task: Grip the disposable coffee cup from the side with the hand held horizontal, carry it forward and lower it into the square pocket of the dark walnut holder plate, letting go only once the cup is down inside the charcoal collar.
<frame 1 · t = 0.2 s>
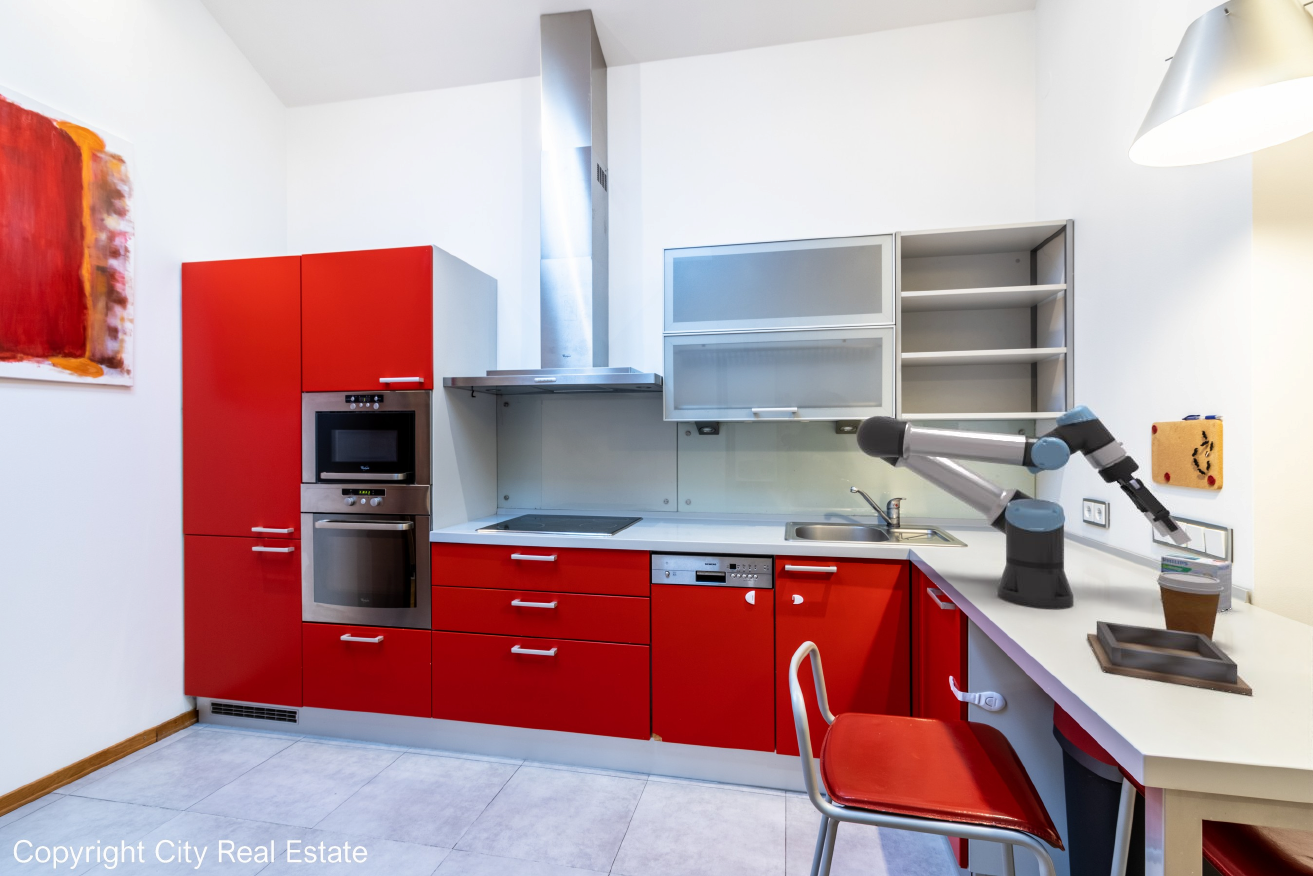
hand: (1176, 538, 135), 15 cm above the worktop, tool tilted 35°, fingers open, 13 cm apart
disposable coffee cup: (1189, 640, 111), on the worktop
light bulb box: (1195, 605, 133), on the worktop
cup holder plate: (1159, 663, 100), on the worktop
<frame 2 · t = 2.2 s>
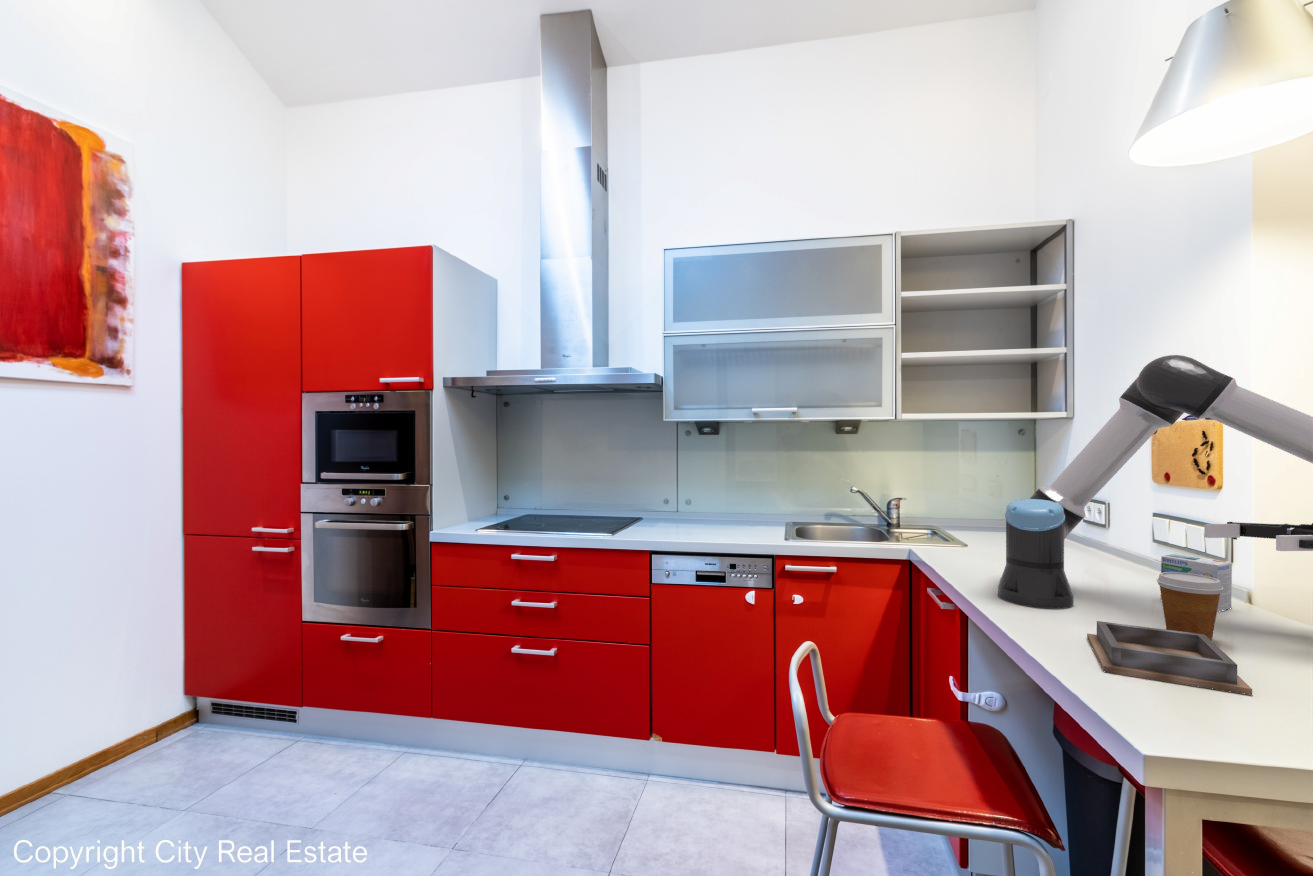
hand: (1239, 536, 111), 20 cm above the worktop, tool horizontal, fingers open, 13 cm apart
nothing on the worktop moved.
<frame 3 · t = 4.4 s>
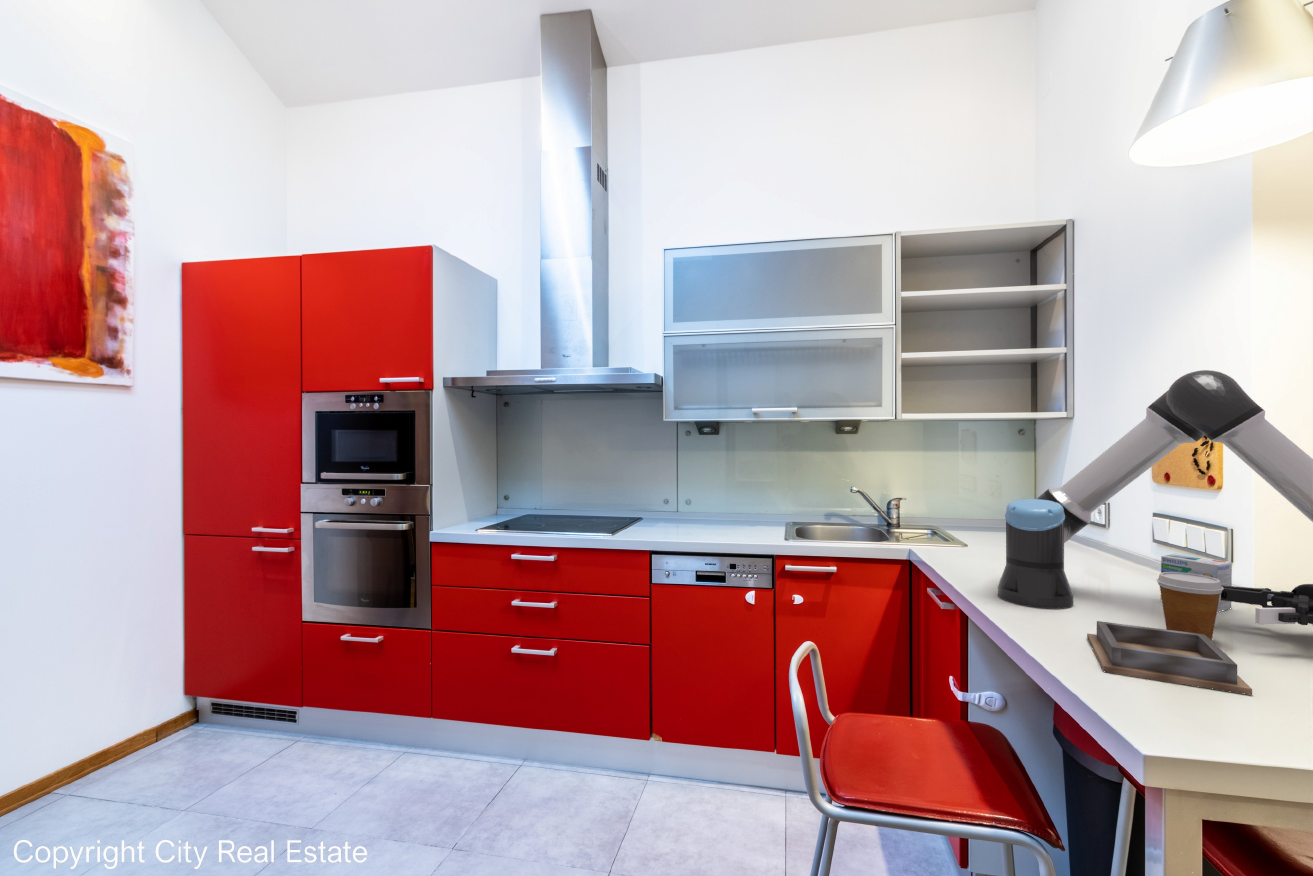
hand: (1219, 604, 111), 7 cm above the worktop, tool horizontal, fingers open, 13 cm apart
nothing on the worktop moved.
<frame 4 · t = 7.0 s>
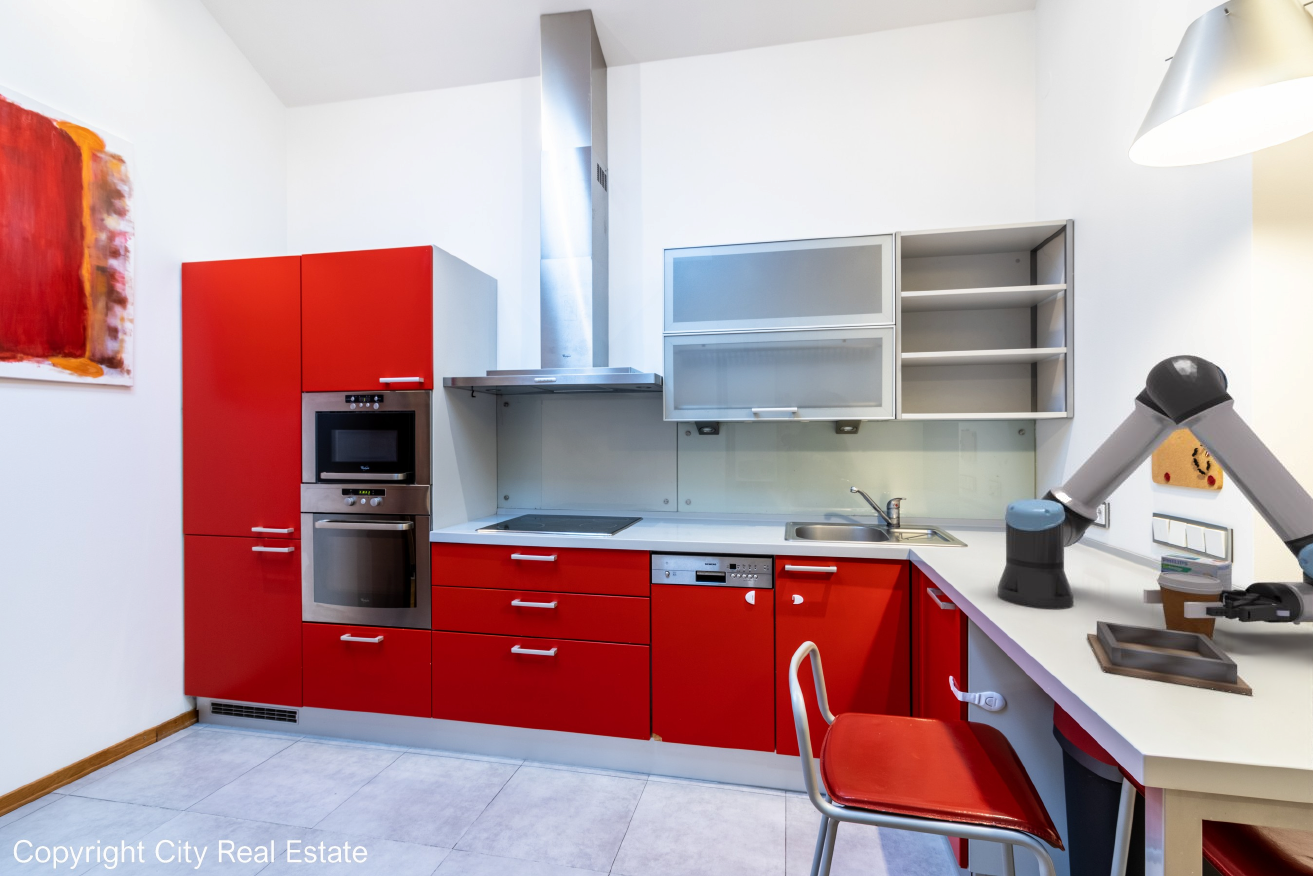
hand: (1164, 603, 111), 7 cm above the worktop, tool horizontal, fingers closed on disposable coffee cup, 8 cm apart
disposable coffee cup: (1189, 640, 111), on the worktop, touching gripper
everything else where it was.
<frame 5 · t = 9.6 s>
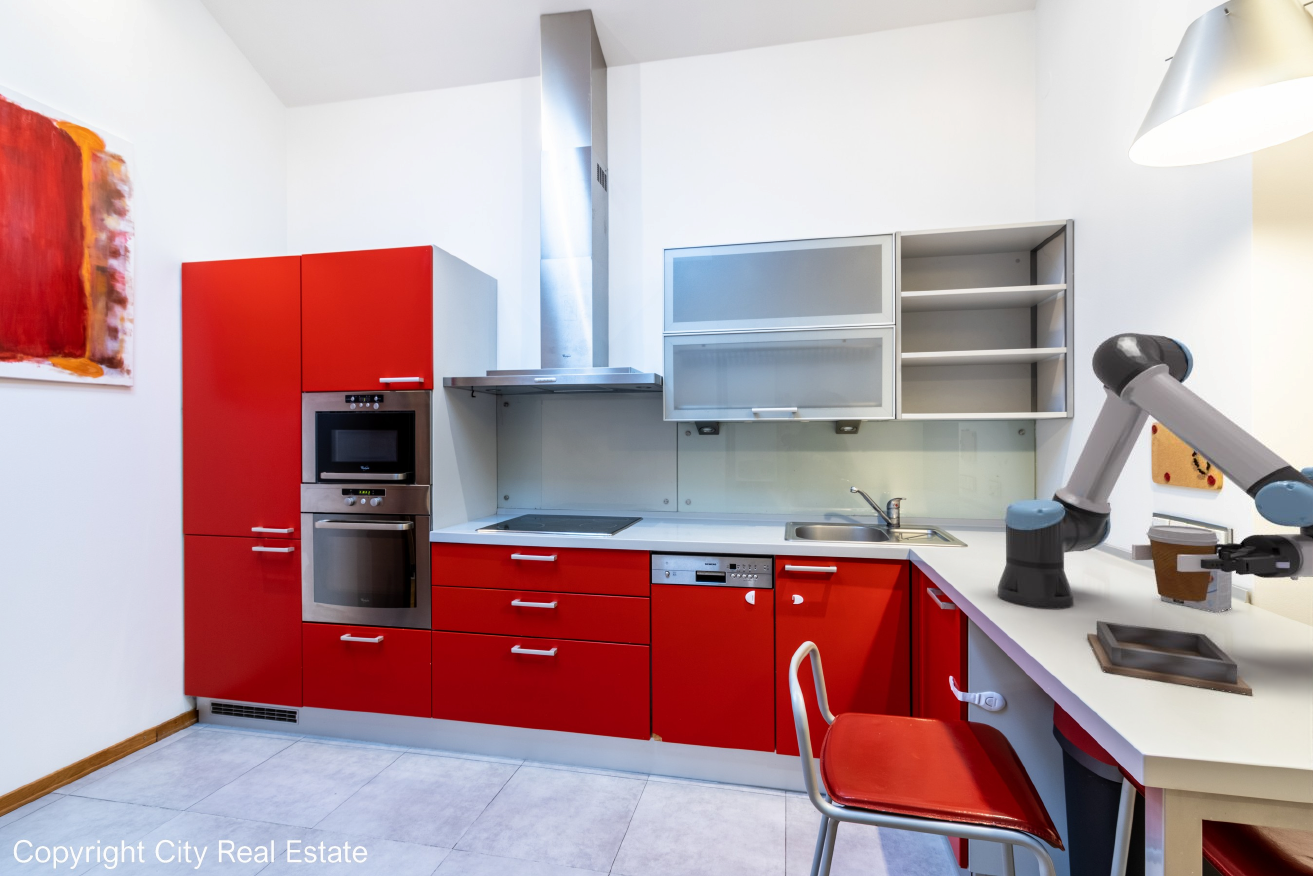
hand: (1155, 557, 102), 18 cm above the worktop, tool horizontal, fingers closed on disposable coffee cup, 8 cm apart
disposable coffee cup: (1181, 597, 102), point 11 cm above the worktop, touching gripper
everything else where it was.
when the fingers open (9 cm above the worktop, at t = 12.5 s): disposable coffee cup drops 1 cm, resting on cup holder plate.
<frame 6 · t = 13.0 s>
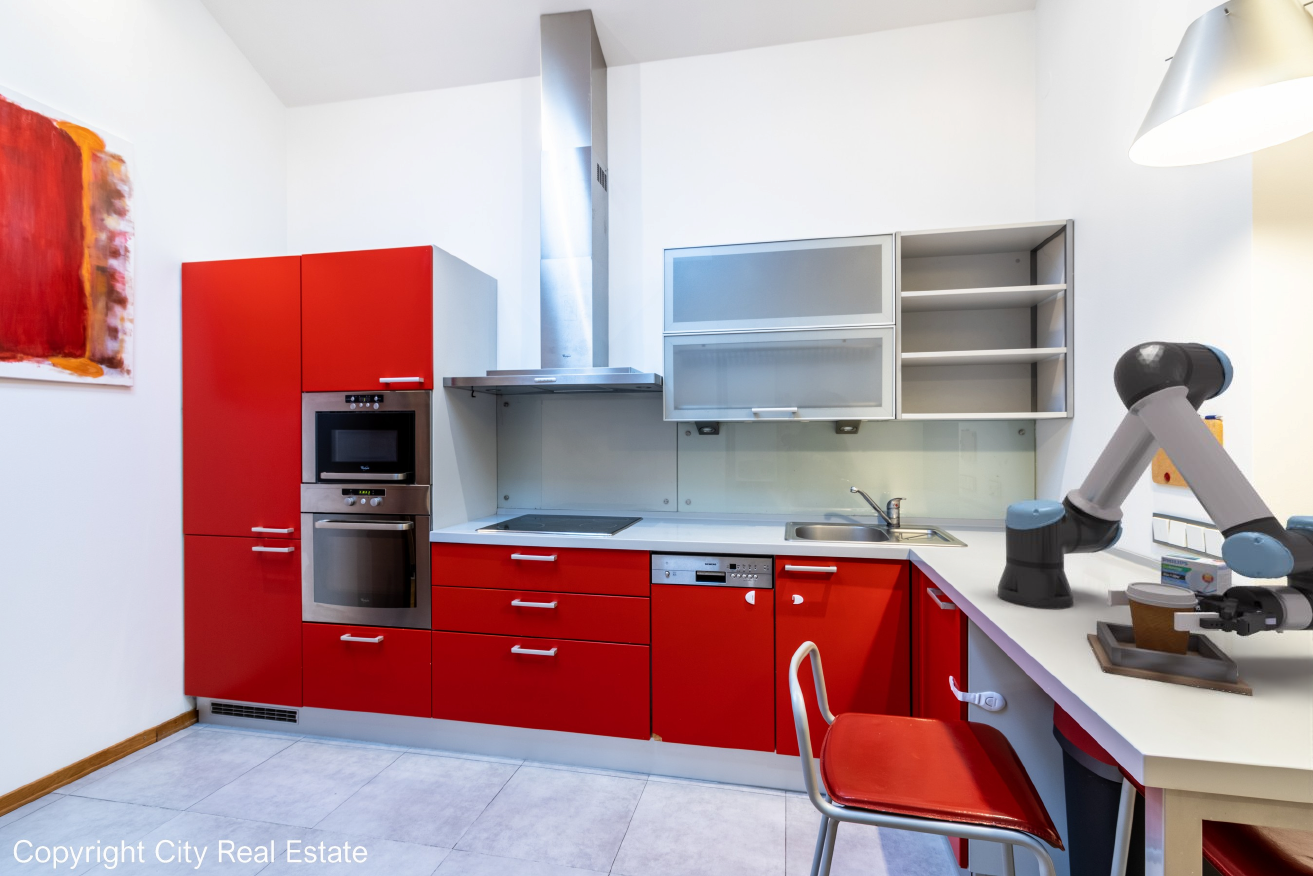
hand: (1140, 608, 100), 9 cm above the worktop, tool horizontal, fingers open, 13 cm apart
disposable coffee cup: (1160, 658, 100), point 1 cm above the worktop, touching cup holder plate
everything else where it was.
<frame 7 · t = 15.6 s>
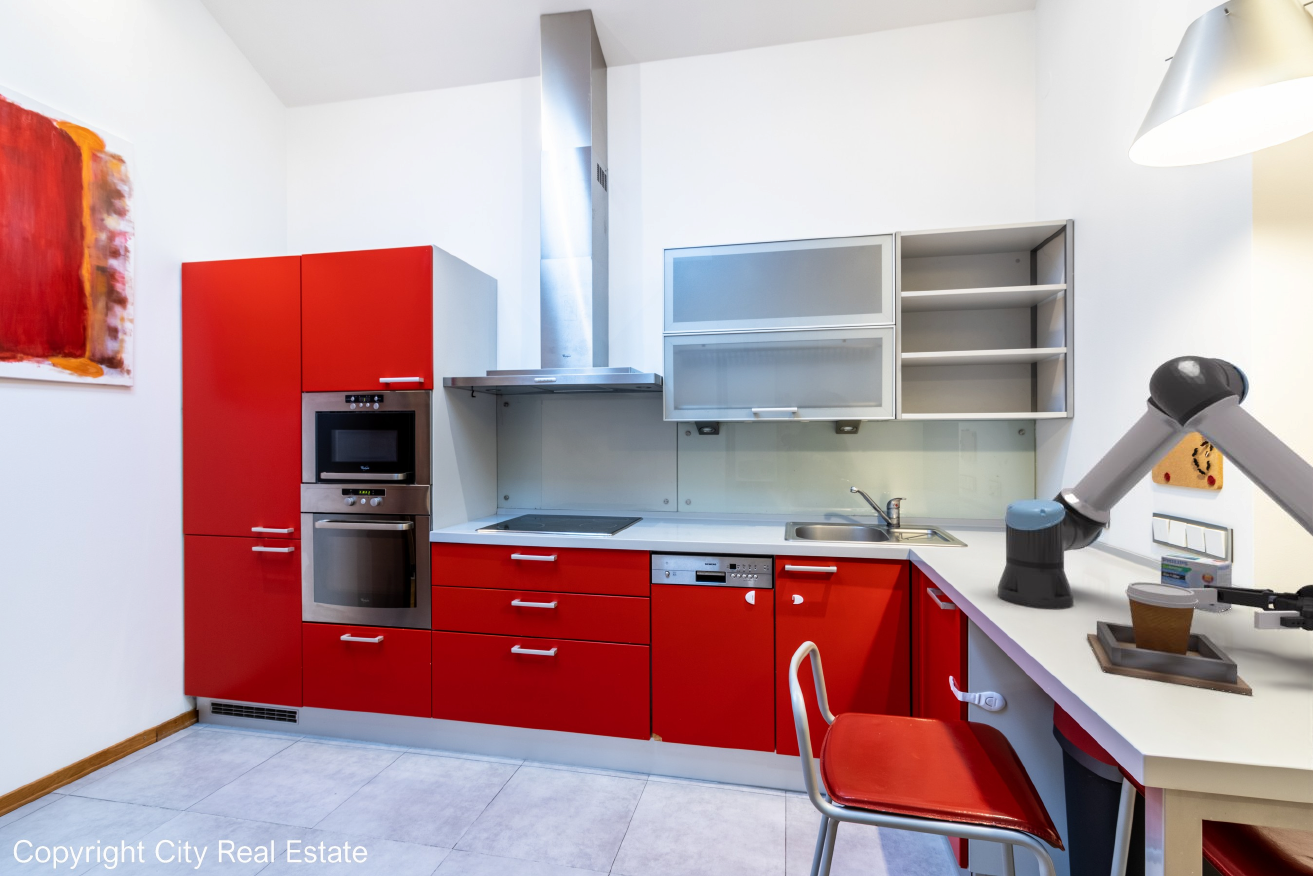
hand: (1215, 607, 100), 10 cm above the worktop, tool horizontal, fingers open, 13 cm apart
nothing on the worktop moved.
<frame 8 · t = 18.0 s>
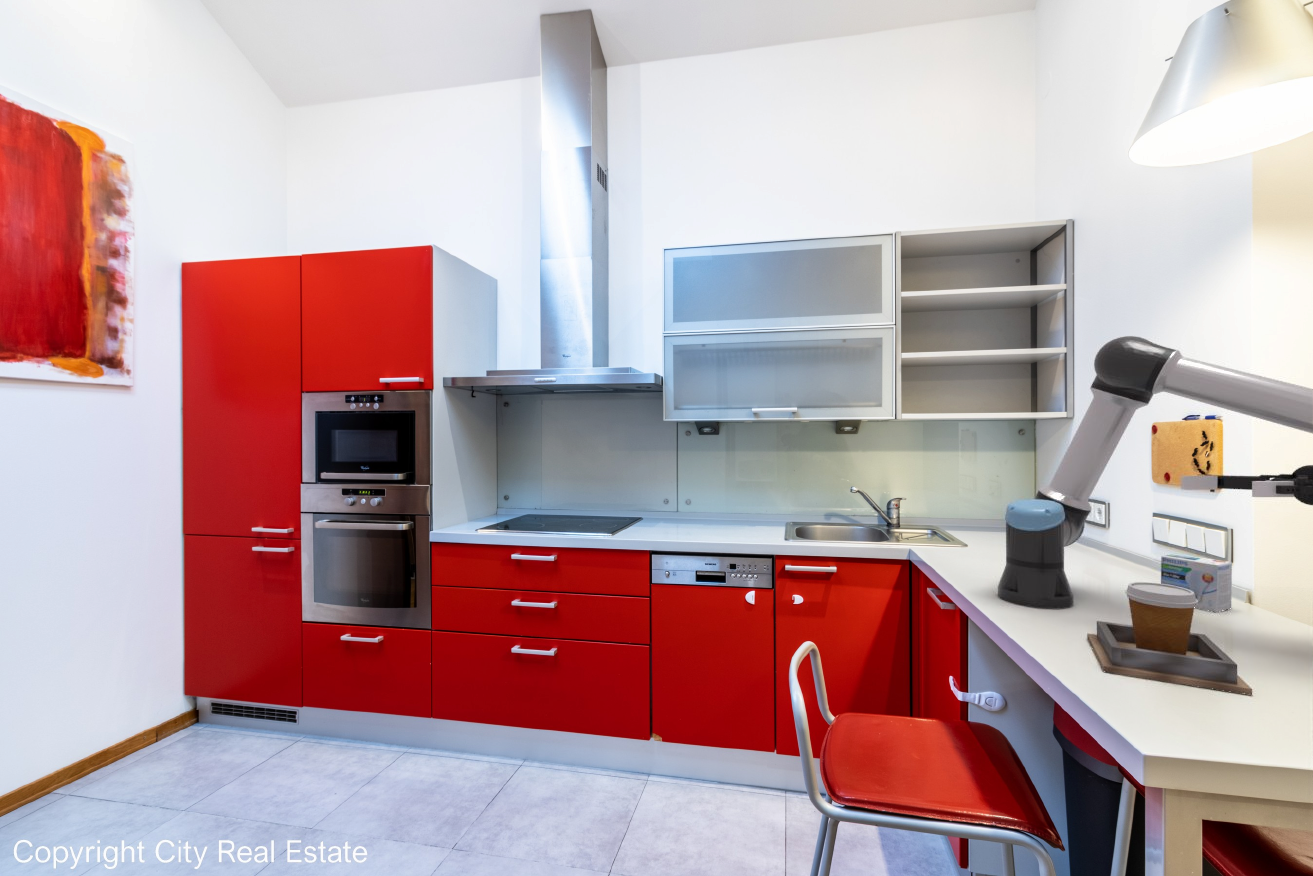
hand: (1216, 485, 107), 30 cm above the worktop, tool horizontal, fingers open, 13 cm apart
nothing on the worktop moved.
at the end: disposable coffee cup 0.2 cm off-centre on the cup holder plate, point 0.8 cm above the cup holder plate's base; disposable coffee cup tilted 0°; the gripper is holding nothing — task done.
